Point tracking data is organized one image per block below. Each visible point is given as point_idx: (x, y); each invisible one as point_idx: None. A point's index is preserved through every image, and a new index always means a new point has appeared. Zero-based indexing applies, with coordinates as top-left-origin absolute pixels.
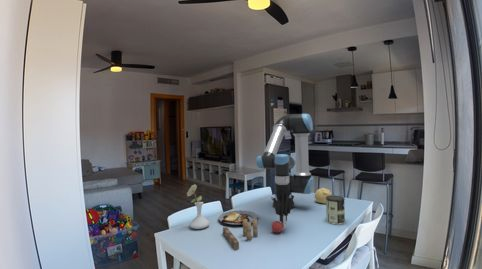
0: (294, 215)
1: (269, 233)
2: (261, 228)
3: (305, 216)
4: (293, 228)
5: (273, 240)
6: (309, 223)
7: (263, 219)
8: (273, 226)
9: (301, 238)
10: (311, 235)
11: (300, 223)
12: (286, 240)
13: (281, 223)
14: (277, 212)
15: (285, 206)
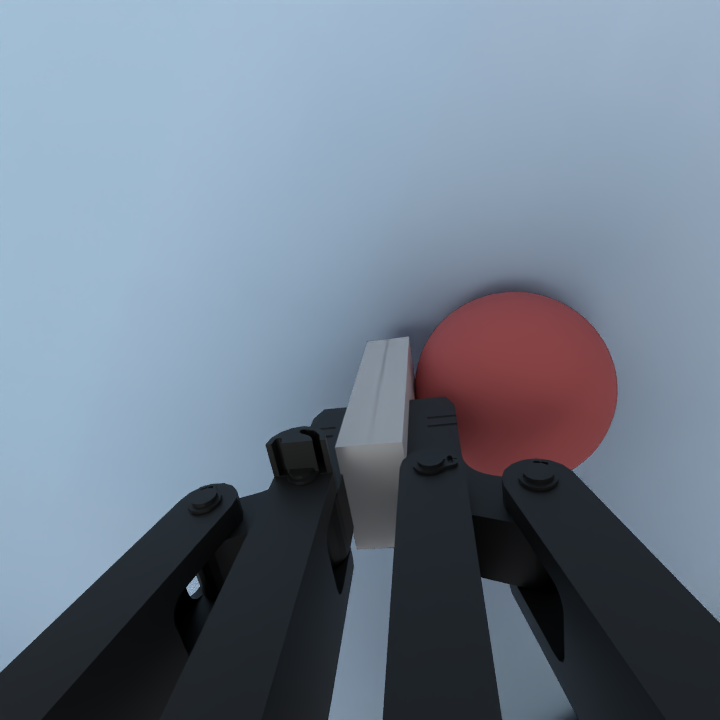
0: None
1: (617, 355)
2: (635, 526)
3: (11, 632)
4: (234, 403)
5: (700, 90)
6: (7, 471)
7: None
8: (610, 361)
9: (236, 45)
10: (63, 115)
11: (108, 502)
12: (494, 31)
13: (439, 389)
14: (612, 536)
15: (257, 693)
